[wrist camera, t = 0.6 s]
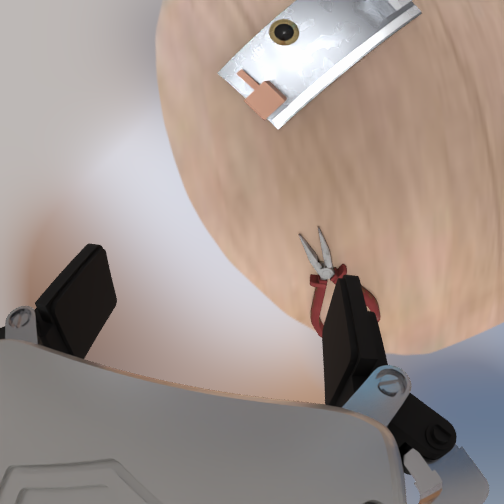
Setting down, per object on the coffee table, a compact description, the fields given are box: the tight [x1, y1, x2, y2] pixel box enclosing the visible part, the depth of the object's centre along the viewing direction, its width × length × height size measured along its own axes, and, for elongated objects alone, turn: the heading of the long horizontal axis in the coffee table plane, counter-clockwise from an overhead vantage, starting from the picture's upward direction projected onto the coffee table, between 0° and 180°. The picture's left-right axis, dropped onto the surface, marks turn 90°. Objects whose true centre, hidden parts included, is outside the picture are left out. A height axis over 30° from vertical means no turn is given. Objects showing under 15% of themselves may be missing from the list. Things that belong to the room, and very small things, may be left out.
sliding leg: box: [237, 69, 287, 120], centre depth 30 cm, size 3×6×4 cm, turn 46°
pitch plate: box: [218, 0, 422, 129], centre depth 26 cm, size 24×10×6 cm, turn 136°
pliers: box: [299, 227, 380, 337], centre depth 46 cm, size 12×20×3 cm, turn 27°
